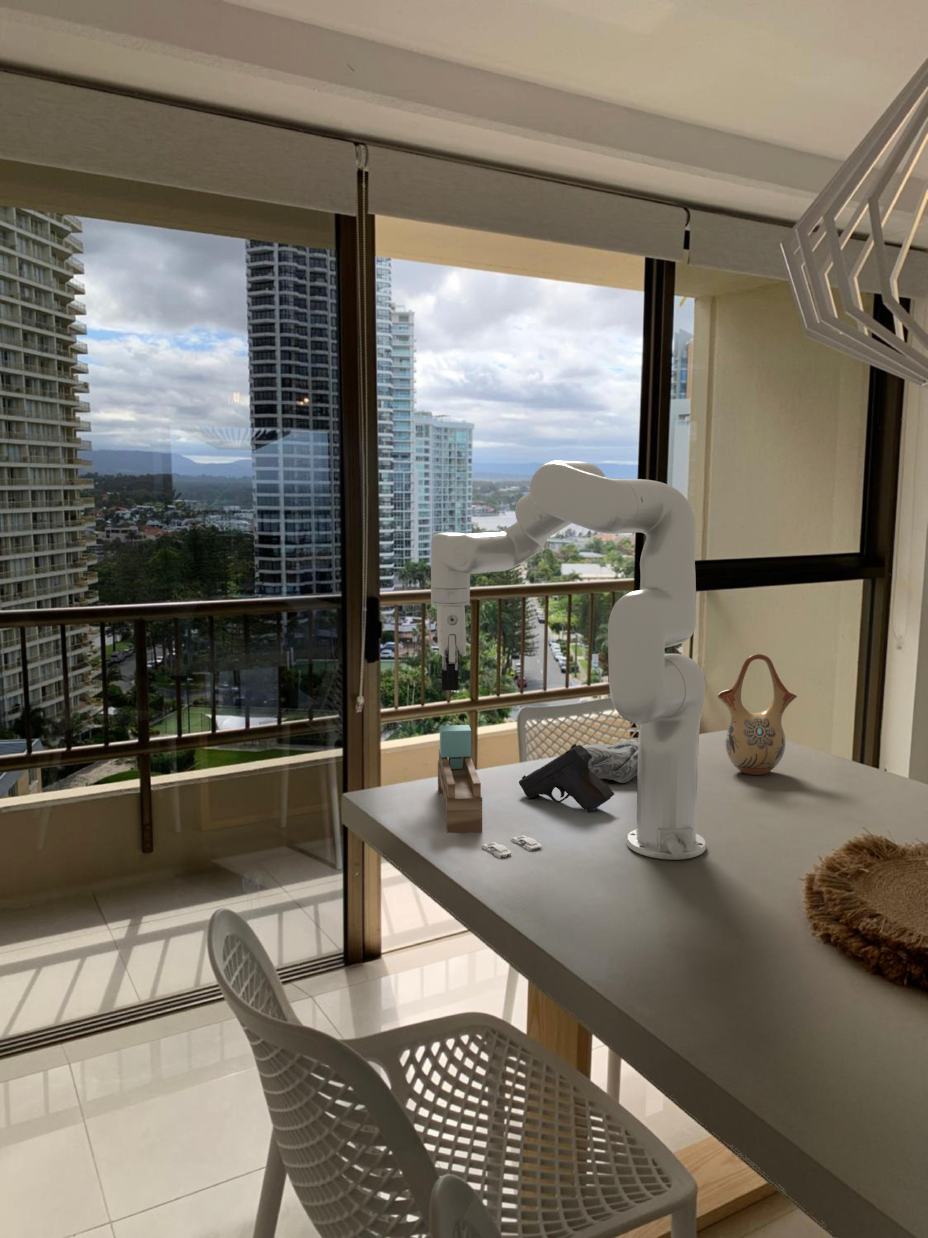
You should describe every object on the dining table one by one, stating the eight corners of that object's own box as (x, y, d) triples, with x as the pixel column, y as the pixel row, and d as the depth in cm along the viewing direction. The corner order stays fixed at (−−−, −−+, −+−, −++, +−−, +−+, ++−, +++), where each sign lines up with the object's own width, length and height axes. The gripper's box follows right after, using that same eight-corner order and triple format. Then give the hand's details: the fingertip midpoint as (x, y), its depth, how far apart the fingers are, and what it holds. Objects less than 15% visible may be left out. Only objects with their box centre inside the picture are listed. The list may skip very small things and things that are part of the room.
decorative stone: (560, 756, 192) (579, 713, 191) (608, 771, 198) (628, 729, 197) (597, 787, 179) (619, 741, 178) (648, 801, 186) (669, 757, 185)
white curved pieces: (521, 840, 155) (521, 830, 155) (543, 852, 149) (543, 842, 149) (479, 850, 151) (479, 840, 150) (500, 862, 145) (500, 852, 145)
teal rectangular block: (471, 769, 172) (471, 730, 171) (441, 770, 171) (441, 731, 170) (469, 763, 176) (468, 724, 175) (440, 764, 176) (439, 725, 175)
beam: (483, 831, 157) (483, 784, 156) (446, 833, 157) (446, 785, 156) (469, 788, 181) (468, 747, 180) (437, 789, 180) (436, 748, 179)
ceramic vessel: (785, 766, 195) (789, 649, 192) (801, 778, 186) (806, 656, 183) (708, 767, 195) (712, 650, 192) (721, 779, 186) (725, 657, 183)
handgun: (607, 801, 164) (574, 743, 167) (545, 836, 173) (514, 780, 176) (616, 796, 167) (583, 739, 170) (554, 831, 176) (524, 776, 179)
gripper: (473, 601, 171) (472, 697, 173) (465, 592, 186) (465, 681, 188) (433, 601, 170) (433, 698, 173) (428, 592, 185) (428, 681, 187)
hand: (449, 689), depth 180 cm, fingers closed
